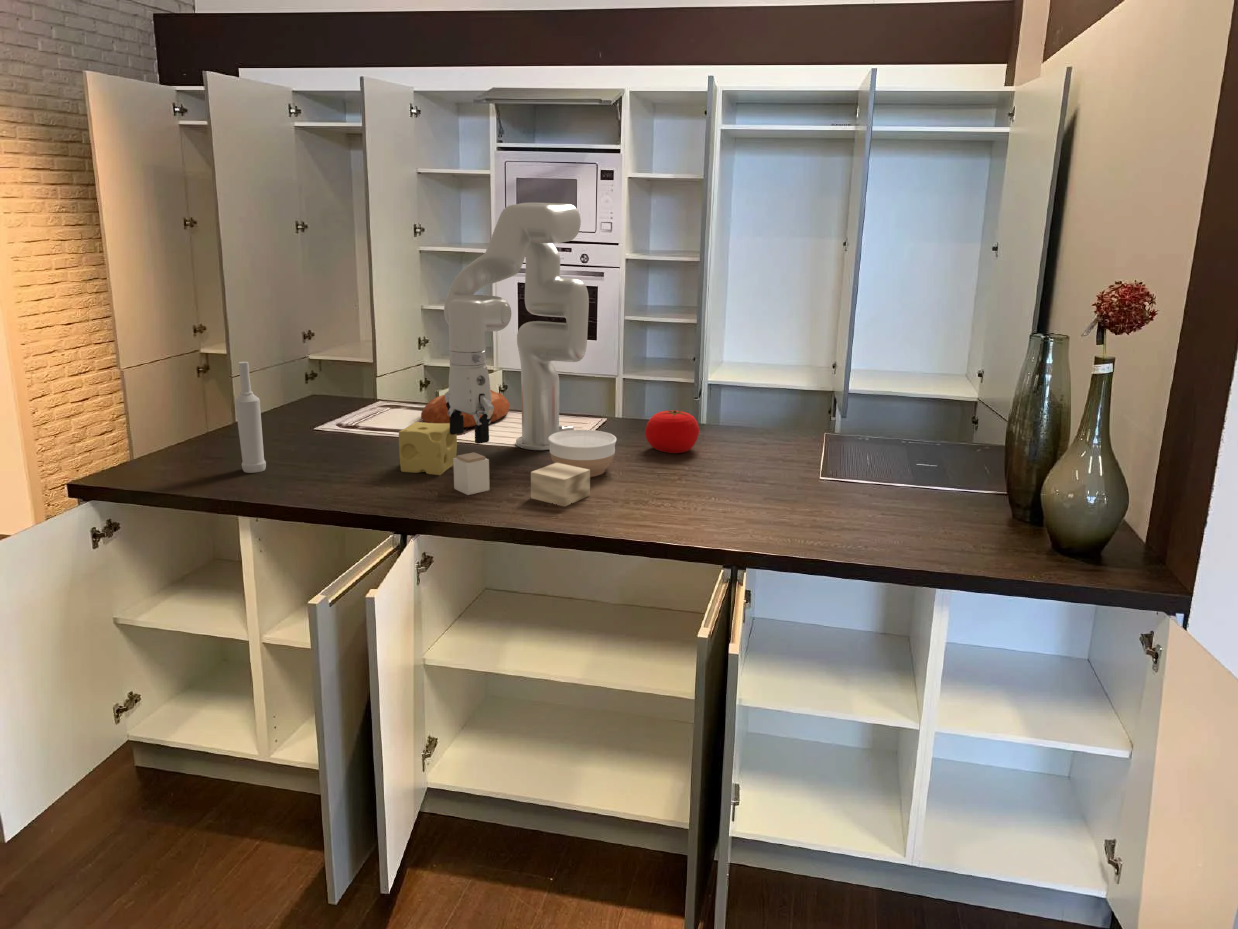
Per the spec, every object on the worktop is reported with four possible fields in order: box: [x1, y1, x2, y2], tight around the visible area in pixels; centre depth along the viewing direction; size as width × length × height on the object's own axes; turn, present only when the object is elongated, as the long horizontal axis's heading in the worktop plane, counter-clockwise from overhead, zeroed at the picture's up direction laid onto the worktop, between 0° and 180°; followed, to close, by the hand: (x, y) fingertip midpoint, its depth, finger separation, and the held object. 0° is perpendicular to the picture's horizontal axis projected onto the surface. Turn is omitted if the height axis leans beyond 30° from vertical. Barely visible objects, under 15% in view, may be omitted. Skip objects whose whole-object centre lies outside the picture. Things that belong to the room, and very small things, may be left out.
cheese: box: [398, 421, 458, 476], centre depth 211 cm, size 10×11×10 cm
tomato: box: [644, 409, 700, 454], centre depth 229 cm, size 14×13×10 cm
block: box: [530, 463, 591, 507], centre depth 193 cm, size 9×9×6 cm
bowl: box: [548, 429, 617, 478], centre depth 211 cm, size 16×16×8 cm
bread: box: [420, 389, 510, 429], centre depth 258 cm, size 23×32×9 cm
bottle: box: [234, 361, 267, 474], centre depth 204 cm, size 5×5×25 cm
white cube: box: [453, 451, 490, 496], centre depth 196 cm, size 6×6×8 cm
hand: (469, 438), depth 193 cm, fingers open, 9 cm apart
